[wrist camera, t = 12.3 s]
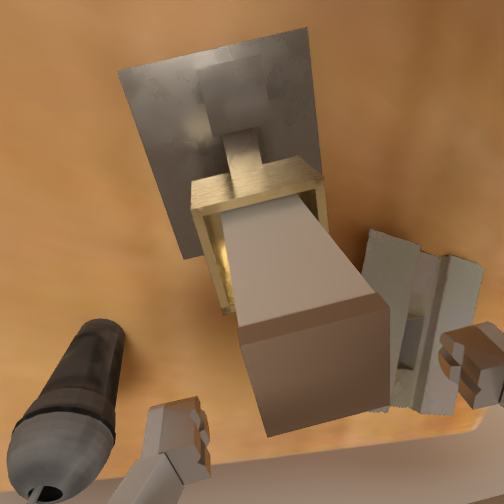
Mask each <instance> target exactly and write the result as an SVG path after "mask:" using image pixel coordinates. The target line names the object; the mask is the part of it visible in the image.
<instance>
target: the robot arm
mask: <svg viewBox="0 0 504 504" xmlns="http://www.w3.org/2000/svg"><path fill="white" fill-rule="evenodd" d="M439 342H440V343H441V344H442V345H443V346H442V348H441V349H440V350H439V351H438V361H439V364H440V367H441V369H442V371H443V373H444V374H445V375H446V377H447V378H448V379H449V380H450V381H452V382H454V383H456V384H458V392H459V393H460V394H461V396H462V397H463V398H464V399H465V401H466V402H467V403H468V404H469V406H470V407H471V408H472V409H473V410H474V409H478V408H482V407H487V406H491V405H496V404H500V406H502V407H504V333H503V332H502V331H501V330H500V329H498V328H497V327H496V326H495V325H494V324H493V323H490V322H484V323H480V324H476V325H472V326H467V327H463V328H459V329H456V330H452V331H448V332H445V333H442V334H441V336H440V341H439ZM209 442H210V433H209V426H208V421H207V417H206V414H205V412H204V411H203V410H201V408H200V401H199V399H198V396H195V397H190V398H186V399H182V400H177V401H173V402H168V403H164V404H160V405H156V406H152V407H150V409H149V411H148V415H147V422H146V428H145V435H144V442H143V449H142V456H141V459H138V460H136V461H135V463H134V464H133V466H132V467H131V469H130V470H129V471H128V473H127V474H126V476H125V477H124V479H123V480H122V482H121V483H120V485H119V486H118V488H117V489H116V491H115V492H114V494H113V495H112V496H111V498H110V499H109V501H108V502H107V504H177V502H178V500H179V498H180V496H181V493H182V491H183V489H184V485H187V484H191V483H194V482H197V481H200V480H204V479H208V478H211V464H210V454H209V452H208V449H207V446H208V444H209ZM469 504H504V494H503V495H499V496H495V497H492V498H488V499H484V500H480V501H476V502H473V503H469Z"/></svg>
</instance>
